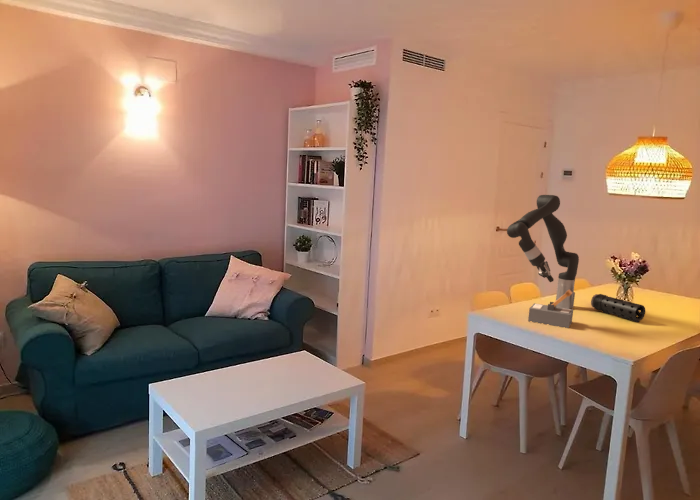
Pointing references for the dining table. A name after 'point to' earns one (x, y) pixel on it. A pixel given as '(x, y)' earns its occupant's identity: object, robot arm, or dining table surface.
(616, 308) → the muzzle brake
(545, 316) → the breaker housing
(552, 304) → the lever
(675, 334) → the dining table surface
